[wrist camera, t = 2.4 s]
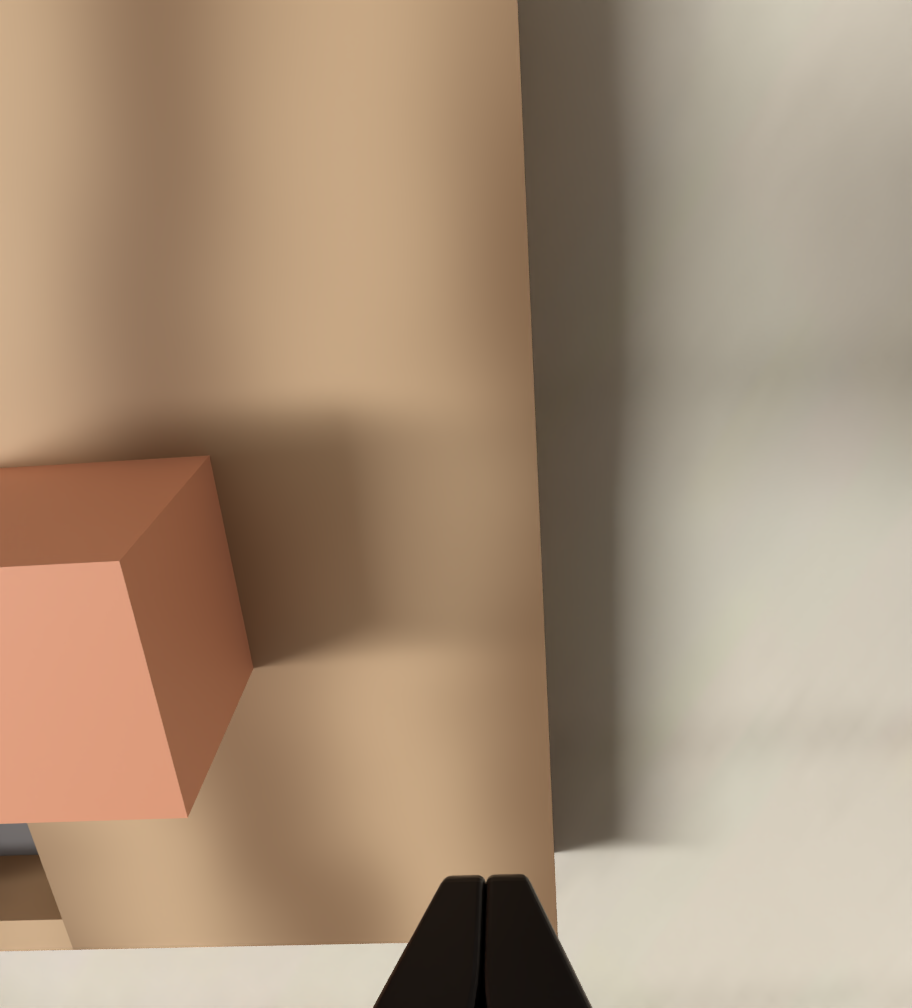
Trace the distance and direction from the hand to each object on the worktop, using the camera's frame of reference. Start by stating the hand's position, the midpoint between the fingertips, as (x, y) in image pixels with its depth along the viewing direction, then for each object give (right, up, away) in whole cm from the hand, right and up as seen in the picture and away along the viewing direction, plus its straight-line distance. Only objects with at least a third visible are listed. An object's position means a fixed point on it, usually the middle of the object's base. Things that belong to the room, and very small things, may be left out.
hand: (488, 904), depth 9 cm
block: (-7, +3, +8) cm, 10 cm away
